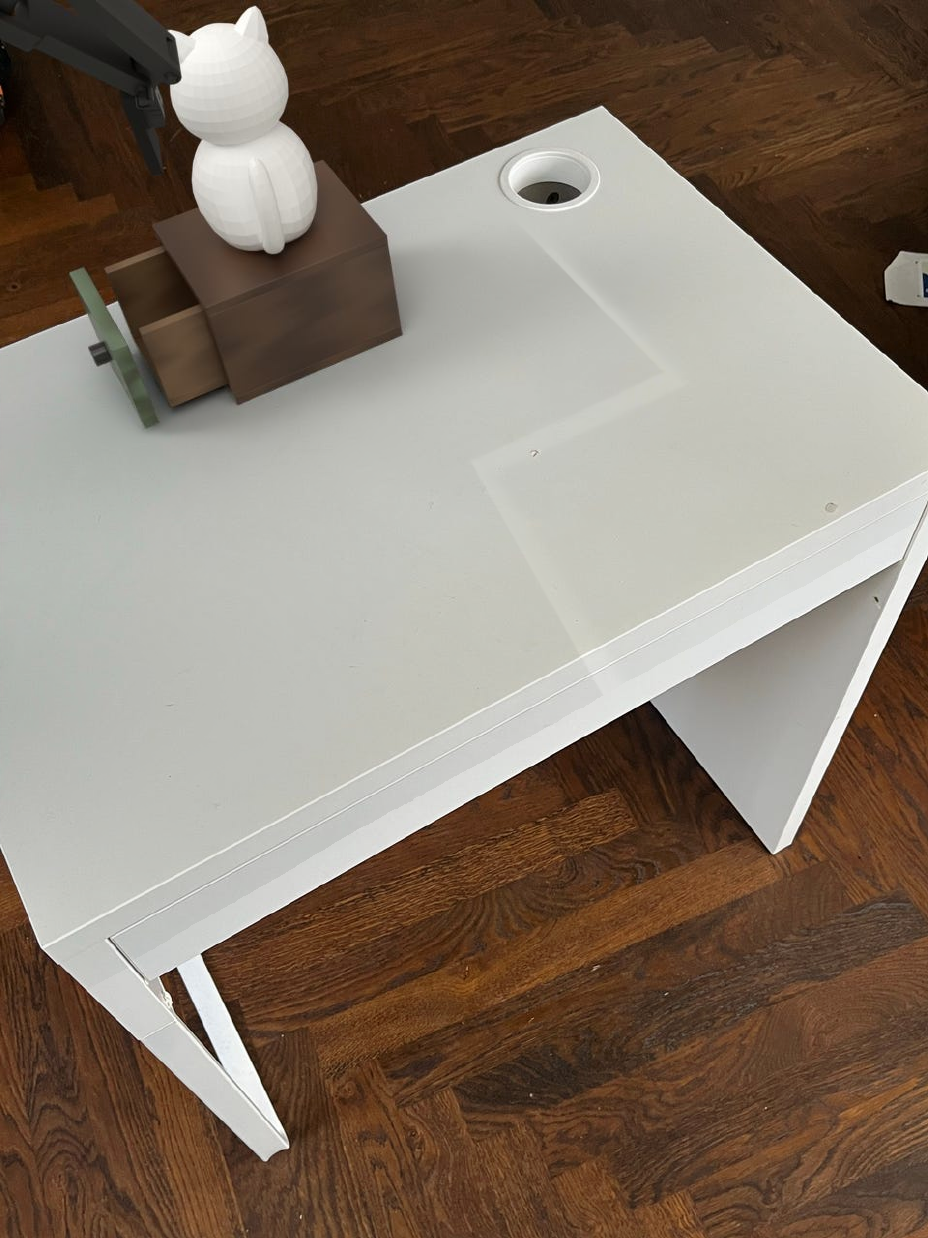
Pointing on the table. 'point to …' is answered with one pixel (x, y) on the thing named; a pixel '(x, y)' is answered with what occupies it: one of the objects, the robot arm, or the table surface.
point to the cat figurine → (243, 136)
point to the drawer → (153, 331)
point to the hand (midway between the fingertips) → (44, 174)
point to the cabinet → (290, 291)
